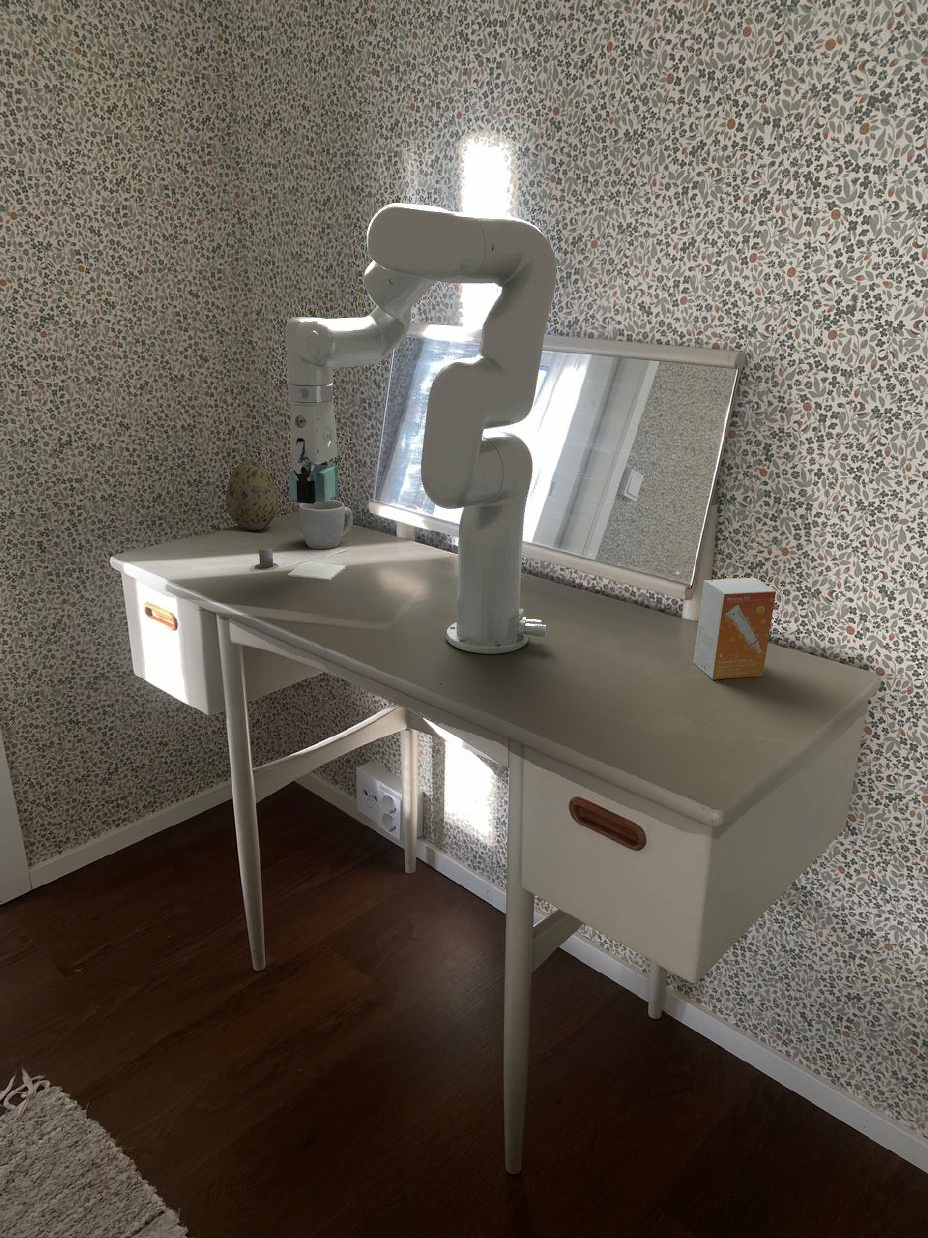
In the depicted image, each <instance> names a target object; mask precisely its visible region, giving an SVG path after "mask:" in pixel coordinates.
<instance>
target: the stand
mask: <svg viewBox="0 0 928 1238" xmlns="http://www.w3.org/2000/svg"><path fill="white" fill-rule="evenodd" d="M258 556H259V558H258V559H259V563H257V564H255V565H254V569H256V570H260V571H272V570H277V569H278V568H279V566H280V565H279V564H278V563H275V562H274V557H273V556H274V553H273V548H271V547H261V548H259V549H258Z"/></svg>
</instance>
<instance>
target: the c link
mask: <svg viewBox="0 0 928 1238" xmlns="http://www.w3.org/2000/svg"><path fill="white" fill-rule="evenodd" d="M303 467H305V468H306V470H307V472H308V467H307V466H303ZM338 468H339V467H338V466H337V465H331V466H328V465H315V464H314V472H313V479H312V480H315V499H316V501H317V502H326V501H327V500H332V499H333V498H335V496H337V495H339V475H338V474H339V473H338V472H339V470H338ZM288 485H289V499H290V500H295V501H297V485H296V479H295V473H294V469H293V468H291V469H289V470H288Z"/></svg>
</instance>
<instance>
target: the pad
mask: <svg viewBox="0 0 928 1238" xmlns="http://www.w3.org/2000/svg"><path fill="white" fill-rule="evenodd" d="M346 568H347V565H344V564H331V563H323V562H314V561H313V562H311V561H305V562H303V563H301V564H300V565H299V566H297V567H296V568H294V569H293V570H291V571H290V572H289V573H287V577H293V578H304V579H312V580H320V581H321V580H322V581H328V582H329V581H331V580H332V579H334V578H335V577H336V576H337V575H339V574H340V573H341V572H342V571H344V570H345V569H346Z"/></svg>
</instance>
